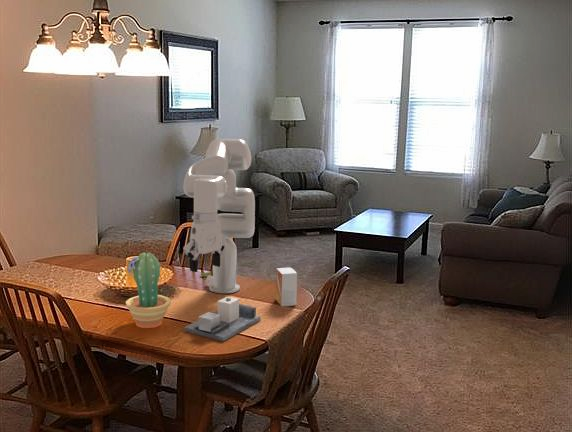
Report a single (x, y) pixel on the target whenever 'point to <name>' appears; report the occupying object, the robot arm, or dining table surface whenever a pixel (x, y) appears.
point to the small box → (286, 286)
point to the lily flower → (207, 274)
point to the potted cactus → (147, 292)
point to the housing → (228, 309)
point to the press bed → (228, 325)
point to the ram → (209, 321)
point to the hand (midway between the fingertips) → (205, 268)
